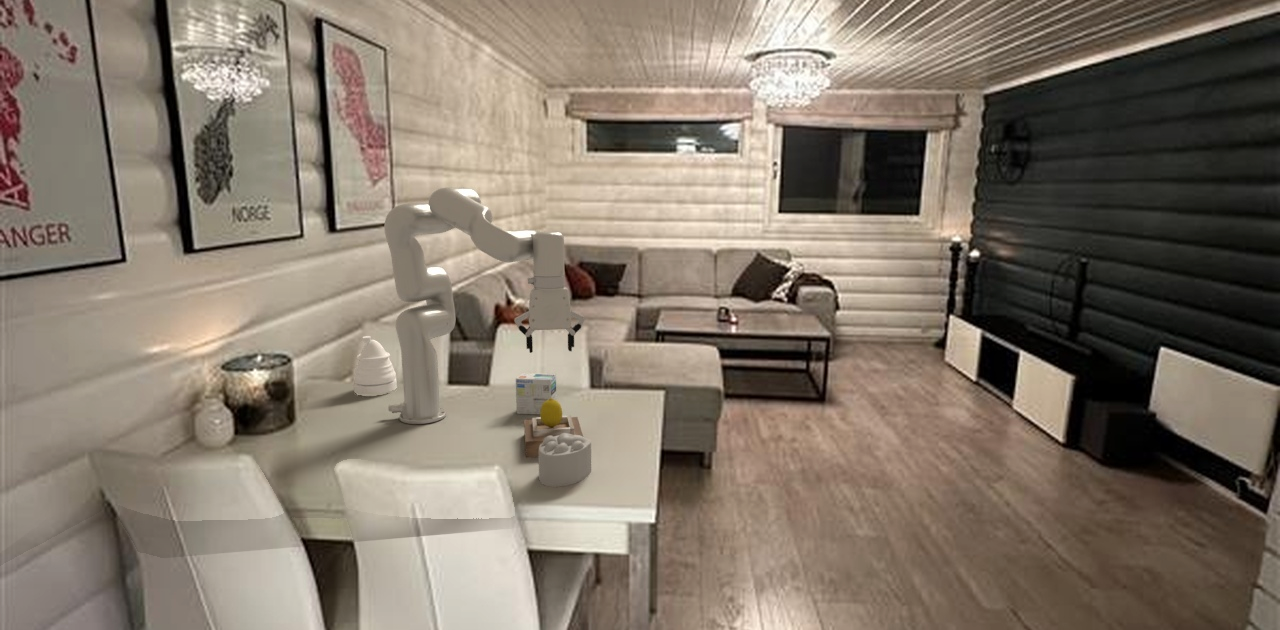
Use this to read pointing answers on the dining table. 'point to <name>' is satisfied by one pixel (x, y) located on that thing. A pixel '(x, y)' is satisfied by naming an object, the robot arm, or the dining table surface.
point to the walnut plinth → (547, 432)
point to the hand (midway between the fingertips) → (550, 350)
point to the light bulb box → (534, 391)
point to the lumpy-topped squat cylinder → (564, 459)
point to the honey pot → (374, 369)
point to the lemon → (551, 413)
